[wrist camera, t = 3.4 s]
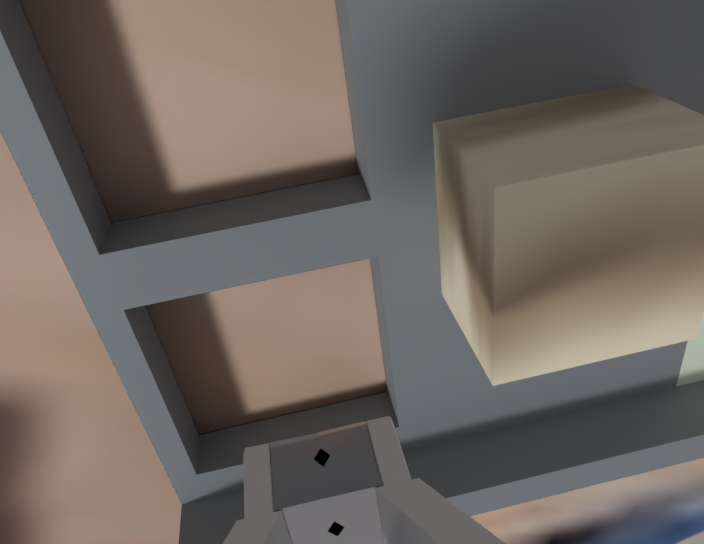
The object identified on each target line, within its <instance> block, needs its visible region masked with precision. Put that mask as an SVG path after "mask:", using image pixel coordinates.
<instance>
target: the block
mask: <svg viewBox="0 0 704 544" xmlns="http://www.w3.org/2000/svg"><path fill="white" fill-rule="evenodd" d="M433 138H434V156H435V175H436V194H437V213H438V232H439V251H440V269H441V288H442V295H443V297H444V299H445V301H446V302H447V304H448V306H449V308H450V310H451V311H452V313H453V315H454V317H455V319H456V320H457V322H458V324H459V326H460V328H461V330H462V331H463V333H464V335H465V337H466V339H467V340H468V342H469V344H470V346H471V348H472V349H473V351H474V353H475V355H476V357H477V358H478V360H479V362H480V364H481V366H482V367H483V369H484V371H485V373H486V375H487V376H488V378H489V380H490V382H491V384H492V385H493V386H495V385H499V384H504V383H508V382H512V381H516V380H521V379H525V378H529V377H534V376H538V375H542V374H547V373H551V372H555V371H559V370H564V369H568V368H572V367H577V366H581V365H585V364H590V363H594V362H598V361H602V360H607V359H611V358H615V357H620V356H624V355H628V354H632V353H637V352H641V351H645V350H650V349H654V348H658V347H663V346H667V345H671V344H675V343H680V342H684V341H688V340H693V339H696V338H697V334H698V330H699V326H700V322H701V319H702V315H703V311H704V115H702V114H700V113H698V112H696V111H693V110H691V109H689V108H686V107H684V106H682V105H680V104H677V103H675V102H673V101H670V100H668V99H666V98H664V97H661V96H659V95H657V94H654V93H652V92H650V91H648V90H645V89H643V88H641V87H638V86H636V85H634V84H630V85H625V86H619V87H614V88H609V89H604V90H599V91H593V92H588V93H583V94H578V95H573V96H567V97H562V98H557V99H552V100H547V101H541V102H536V103H531V104H526V105H521V106H515V107H510V108H505V109H500V110H495V111H489V112H484V113H479V114H474V115H469V116H464V117H458V118H453V119H448V120H443V121H438V122H433Z"/></svg>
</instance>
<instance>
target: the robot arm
mask: <svg viewBox="0 0 704 544" xmlns="http://www.w3.org/2000/svg"><path fill="white" fill-rule="evenodd" d="M243 469H244V519H241V520H237V521H236V523H235V524H234V526H233V527H232V529H231V531H230V532H229V534H228V536H227V537H226V539H225V540H224V542H223V544H505V543H504V542H503V541H501V540H500V539H499V538H497V537H496V536H495V535H493V534H492V533H491V532H489V531H488V530H487V529H485V528H484V527H483V526H481V525H480V524H479V523H478V522H476V521H475V520H474V519H472V518H471V517H470V516H468V515H467V514H466V513H464V512H463V511H462V510H460V509H459V508H458V507H456V506H455V505H454V504H452V503H451V502H450V501H448V500H447V499H446V498H445V497H443V496H442V495H441V494H439V493H438V492H437V491H435V490H434V489H433V488H431V487H430V486H429V485H427V484H426V483H425V482H423V481H422V480H421V479H419V478H416V479H411V476H410V473H409V470H408V467H407V464H406V461H405V458H404V455H403V451H402V448H401V445H400V442H399V439H398V436H397V433H396V430H395V427H394V424H393V421H392V418H391V417H390V416H386V417H382V418H377V419H373V420H369V421H366V423H365V421H364V422H360V423H355V424H351V425H347V426H343V427H338V428H334V429H330V430H326V431H321V432H318V433H315V434H310V435H305V436H300V437H295V438H290V439H285V440H280V441H275V442H270V443H267V444H262V445H257V446H252V447H247V448H245V450H244V454H243Z"/></svg>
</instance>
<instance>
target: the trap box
mask: <svg viewBox="0 0 704 544" xmlns="http://www.w3.org/2000/svg"><path fill="white" fill-rule="evenodd" d="M335 1H336V9H337V16H338V24H339V31H340V39H341V46H342V54H343V61H344V69H345V76H346V84H347V91H348V99H349V106H350V114H351V121H352V129H353V136H354V144H355V151H356V159H357V166H358V174H356V175H351V176H346V177H341V178H336V179H331V180H326V181H321V182H316V183H311V184H306V185H301V186H296V187H290V188H285V189H280V190H275V191H270V192H265V193H260V194H255V195H250V196H245V197H240V198H235V199H230V200H225V201H220V202H215V203H210V204H204V205H199V206H194V207H189V208H184V209H179V210H174V211H169V212H164V213H159V214H154V215H149V216H144V217H139V218H134V219H129V220H124V221H119V222H113V223H111V222H110V219H109V217H108V214H107V212H106V210H105V207H104V205H103V202H102V200H101V197H100V195H99V193H98V190H97V188H96V185H95V183H94V181H93V178H92V176H91V173H90V171H89V168H88V166H87V164H86V161H85V159H84V156H83V154H82V152H81V149H80V147H79V144H78V142H77V139H76V137H75V135H74V132H73V130H72V127H71V125H70V122H69V120H68V118H67V115H66V113H65V110H64V108H63V106H62V103H61V101H60V98H59V96H58V93H57V91H56V89H55V86H54V84H53V81H52V79H51V77H50V74H49V72H48V69H47V67H46V64H45V62H44V60H43V57H42V55H41V52H40V50H39V48H38V45H37V43H36V40H35V38H34V35H33V33H32V31H31V28H30V26H29V23H28V21H27V18H26V16H25V14H24V11H23V9H22V6H21V4H20V2H19V0H0V132H1V134H2V136H3V138H4V140H5V142H6V144H7V146H8V148H9V150H10V153H11V155H12V157H13V159H14V161H15V163H16V165H17V167H18V169H19V171H20V173H21V175H22V177H23V179H24V181H25V183H26V185H27V187H28V190H29V192H30V194H31V196H32V198H33V200H34V202H35V204H36V206H37V208H38V210H39V212H40V214H41V216H42V218H43V220H44V222H45V224H46V227H47V229H48V231H49V233H50V235H51V237H52V239H53V241H54V243H55V245H56V247H57V249H58V251H59V253H60V255H61V257H62V259H63V261H64V264H65V266H66V268H67V270H68V272H69V274H70V276H71V278H72V280H73V282H74V284H75V286H76V288H77V290H78V292H79V294H80V296H81V298H82V301H83V303H84V305H85V307H86V309H87V311H88V313H89V315H90V317H91V319H92V321H93V323H94V325H95V327H96V329H97V331H98V333H99V335H100V338H101V340H102V342H103V344H104V346H105V348H106V350H107V352H108V354H109V356H110V358H111V360H112V362H113V364H114V366H115V368H116V370H117V372H118V375H119V377H120V379H121V381H122V383H123V385H124V387H125V389H126V391H127V393H128V395H129V397H130V399H131V401H132V403H133V405H134V407H135V409H136V412H137V414H138V416H139V418H140V420H141V422H142V424H143V426H144V428H145V430H146V432H147V434H148V436H149V438H150V440H151V442H152V444H153V446H154V449H155V451H156V453H157V455H158V457H159V459H160V461H161V463H162V465H163V467H164V469H165V471H166V473H167V475H168V477H169V479H170V481H171V483H172V486H173V488H174V490H175V492H176V494H177V496H178V498H179V500H180V502H181V504H182V510H181V523H180V536H179V544H223V542H224V540H225V539H226V537H227V536H228V534H229V532H230V531H231V529H232V527H233V526H234V524H235V523H236V521H237V520H241V519H244V469H243V454H244V450H245V448H247V447H252V446H257V445H262V444H267V443H270V442H275V441H280V440H285V439H290V438H295V437H300V436H305V435H310V434H315V433H318V432H321V431H326V430H330V429H334V428H338V427H343V426H347V425H351V424H355V423H360V422H364V421H365V423H366V421H369V420H373V419H377V418H382V417H386V416H390V417H391V418H392V421H393V424H394V427H395V430H396V433H397V436H398V439H399V442H400V445H401V448H402V451H403V455H404V458H405V461H406V464H407V467H408V470H409V473H410V476H411V479H416V478H419V479H421V480H422V481H423V482H425V483H426V484H427V485H429V486H430V487H431V488H433V489H434V490H435V491H437V492H438V493H439V494H441V495H442V496H443V497H445V498H446V499H447V500H448V501H450V502H451V503H452V504H454V505H455V506H456V507H458V508H459V509H460V510H462V511H463V512H464V513H466V514H467V515H468V516H473V515H477V514H481V513H485V512H489V511H493V510H497V509H501V508H505V507H509V506H513V505H517V504H521V503H525V502H529V501H533V500H537V499H541V498H545V497H549V496H553V495H557V494H561V493H565V492H569V491H573V490H576V489H580V488H584V487H588V486H592V485H596V484H600V483H604V482H608V481H612V480H616V479H620V478H624V477H628V476H632V475H636V474H640V473H644V472H648V471H652V470H656V469H660V468H664V467H668V466H672V465H676V464H680V463H684V462H688V461H692V460H696V459H700V458H704V311H703V315H702V319H701V322H700V326H699V330H698V334H697V338H696V339H693V340H688V341H684V342H680V343H675V344H671V345H667V346H663V347H658V348H654V349H650V350H645V351H641V352H637V353H632V354H628V355H624V356H620V357H615V358H611V359H607V360H602V361H598V362H594V363H590V364H585V365H581V366H577V367H572V368H568V369H564V370H559V371H555V372H551V373H547V374H542V375H538V376H534V377H529V378H525V379H521V380H516V381H512V382H508V383H504V384H499V385H495V386H493V385H492V384H491V382H490V380H489V378H488V376H487V375H486V373H485V371H484V369H483V367H482V366H481V364H480V362H479V360H478V358H477V357H476V355H475V353H474V351H473V349H472V348H471V346H470V344H469V342H468V340H467V339H466V337H465V335H464V333H463V331H462V330H461V328H460V326H459V324H458V322H457V320H456V319H455V317H454V315H453V313H452V311H451V310H450V308H449V306H448V304H447V302H446V301H445V299H444V297H443V295H442V288H441V269H440V251H439V232H438V213H437V194H436V175H435V156H434V138H433V122H438V121H443V120H448V119H453V118H458V117H464V116H469V115H474V114H479V113H484V112H489V111H495V110H500V109H505V108H510V107H515V106H521V105H526V104H531V103H536V102H541V101H547V100H552V99H557V98H562V97H567V96H573V95H578V94H583V93H588V92H593V91H599V90H604V89H609V88H614V87H619V86H625V85H630V84H634V85H636V86H638V87H641V88H643V89H645V90H648V91H650V92H652V93H654V94H657V95H659V96H661V97H664V98H666V99H668V100H670V101H673V102H675V103H677V104H680V105H682V106H684V107H686V108H689V109H691V110H693V111H696V112H698V113H700V114H702V115H704V0H335ZM369 258H370V264H371V271H372V279H373V286H374V294H375V301H376V309H377V316H378V324H379V331H380V339H381V346H382V354H383V361H384V369H385V376H386V384H387V391H388V392H383V393H379V394H375V395H370V396H366V397H362V398H357V399H353V400H349V401H344V402H340V403H335V404H331V405H327V406H322V407H318V408H314V409H309V410H305V411H301V412H296V413H292V414H288V415H283V416H279V417H275V418H270V419H266V420H262V421H257V422H253V423H249V424H244V425H240V426H236V427H231V428H227V429H222V430H218V431H214V432H209V433H205V434H201V435H199V434H198V432H197V430H196V427H195V425H194V422H193V420H192V418H191V415H190V413H189V410H188V408H187V405H186V403H185V401H184V398H183V396H182V393H181V391H180V389H179V386H178V384H177V381H176V379H175V376H174V374H173V372H172V369H171V367H170V364H169V362H168V360H167V357H166V355H165V352H164V350H163V347H162V345H161V343H160V340H159V338H158V335H157V333H156V330H155V328H154V326H153V323H152V321H151V318H150V316H149V314H148V311H147V309H146V306H145V305H150V304H155V303H159V302H164V301H169V300H174V299H178V298H183V297H188V296H193V295H197V294H202V293H207V292H212V291H216V290H221V289H226V288H231V287H235V286H240V285H245V284H250V283H254V282H259V281H264V280H269V279H273V278H278V277H283V276H288V275H292V274H297V273H302V272H307V271H311V270H316V269H321V268H326V267H331V266H335V265H340V264H345V263H350V262H354V261H359V260H364V259H369Z"/></svg>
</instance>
